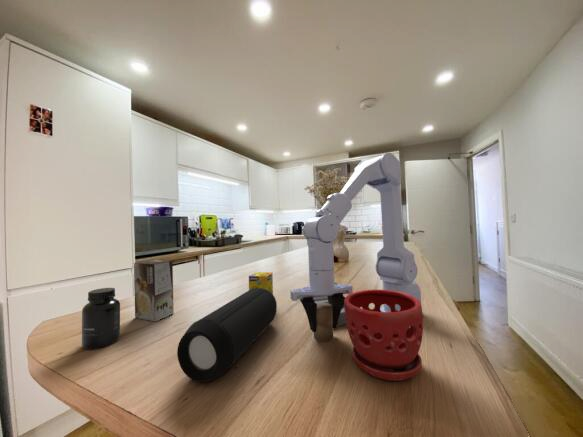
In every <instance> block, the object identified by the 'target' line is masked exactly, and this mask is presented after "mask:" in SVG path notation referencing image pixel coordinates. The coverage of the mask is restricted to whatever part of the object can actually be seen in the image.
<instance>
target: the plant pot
mask: <svg viewBox="0 0 583 437" xmlns="http://www.w3.org/2000/svg"><path fill="white" fill-rule="evenodd" d="M344 297H345V299H344V309H345V319H346V324H345V325H346V327H347V331H348V336H349V339H350V341H351V343H352V345H353V347H352V350H351V353H352V358H353V360H354V361H355V363H356V364H357V366H359V367H360V369H362V370H363V371H364V372H366V373H367V374H369V375H371V376H373V377H375V378H378V379H382V380H387V381H395V382H397V381H404V380H408V379H411V378H413V377H414V376H416V375H417V374H418V373H419V372H420V370H421V368H422V365H423V364H422V362H423V361H422V358H421V356H420V354H419V352H420V349H421V346H422V343H423V332H424V324H423V323H424V315H423V313H424V312H423V306H422V302H421V303H420V301H419V300H418V299H417V298H415V297H413V296H411V295H409V294H405V293H402V292H397V291H391V290H383V289H377V288H376V289H365V290H364V289H362V290H357V291H354V292H353V293H351V294H347V295H346V296H344ZM371 304H373V306H374V307H373V308H370V307H369V306H370V305H371ZM383 304H386V305H388V306H389V307H390V309H391V312H381V310H380V307H382V305H383ZM396 304H398V305H399V306H400V308H401V309H400V311H397V310H396V309H395V305H396ZM383 306H384V305H383Z"/></svg>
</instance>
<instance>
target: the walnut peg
mask: <svg viewBox="0 0 583 437" xmlns="http://www.w3.org/2000/svg"><path fill="white" fill-rule="evenodd" d="M316 304H317V308H316V332H313V338H314V340H316V341H318V342H322V343H326V342H331V341H333V339H334V328H333V306H332V305H331V304H328V303H316Z"/></svg>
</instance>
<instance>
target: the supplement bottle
mask: <svg viewBox="0 0 583 437" xmlns="http://www.w3.org/2000/svg"><path fill="white" fill-rule="evenodd" d="M115 296H116V289H115V288H114V287H102V288H96V289H93V290H90V291H88V293H87V303H86V304H85V305H84V306H83V307H82V309H81V347H82V349H84V350H88V351H89V350H99V349H103V348H105V347H108V346H111V345H112V344H114V343H116V342H118V340H119V339H120V337H121V302H120V300H118V299H116V298H115Z"/></svg>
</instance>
